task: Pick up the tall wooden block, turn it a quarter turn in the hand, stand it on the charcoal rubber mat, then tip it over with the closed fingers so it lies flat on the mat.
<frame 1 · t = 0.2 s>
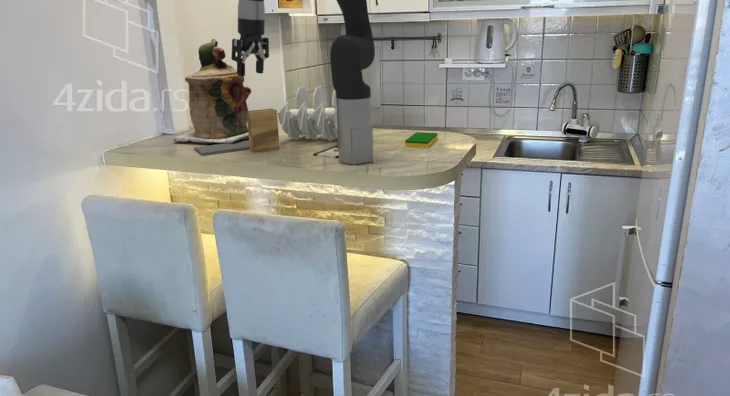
hand: (250, 74, 162), 22 cm above the countertop, tool pointing down, fingers open, 8 cm apart
tall wooden block: (264, 150, 167), on the countertop
cookie jar: (223, 137, 186), on the countertop, touching rubber mat
chocolate bar: (343, 152, 163), on the countertop
rubber mat: (229, 148, 170), on the countertop
dish sponge: (421, 144, 171), on the countertop
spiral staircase: (324, 141, 178), on the countertop
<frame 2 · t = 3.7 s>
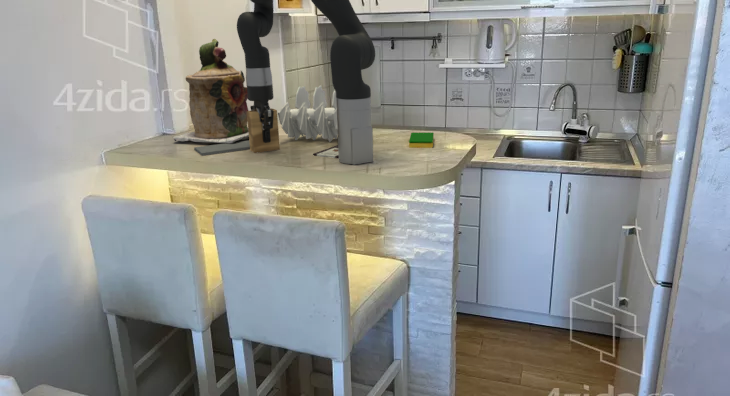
hand: (264, 140, 166), 3 cm above the countertop, tool pointing down, fingers closed on tall wooden block, 4 cm apart
tall wooden block: (265, 149, 167), on the countertop, touching gripper
when the fingers open (5 cm above the countertop, at t = 12.1 s): tall wooden block stays where it is, resting on hand, rubber mat.
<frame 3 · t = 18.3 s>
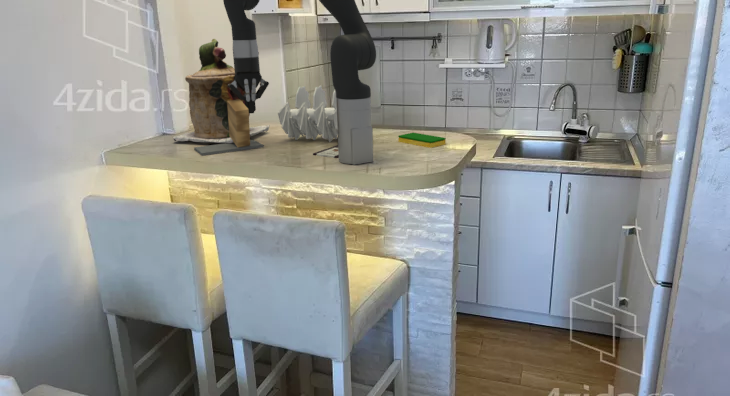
hand: (250, 113, 171), 10 cm above the countertop, tool pointing down, fingers closed
tall wooden block: (239, 140, 171), point 2 cm above the countertop, tilted 17°, touching gripper, hand, rubber mat
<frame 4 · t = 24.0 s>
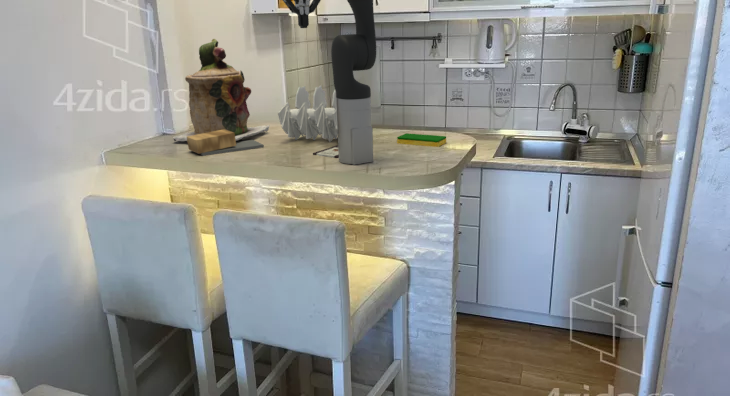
hand: (303, 28, 165), 35 cm above the countertop, tool pointing down, fingers closed
tall wooden block: (230, 137, 169), point 3 cm above the countertop, tilted 93°, touching cookie jar, rubber mat
cookie jar: (223, 137, 186), on the countertop, touching tall wooden block, rubber mat
at the end: tall wooden block tilted 93°; tall wooden block touching cookie jar, rubber mat; tall wooden block moved 12.4 cm from its start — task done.
